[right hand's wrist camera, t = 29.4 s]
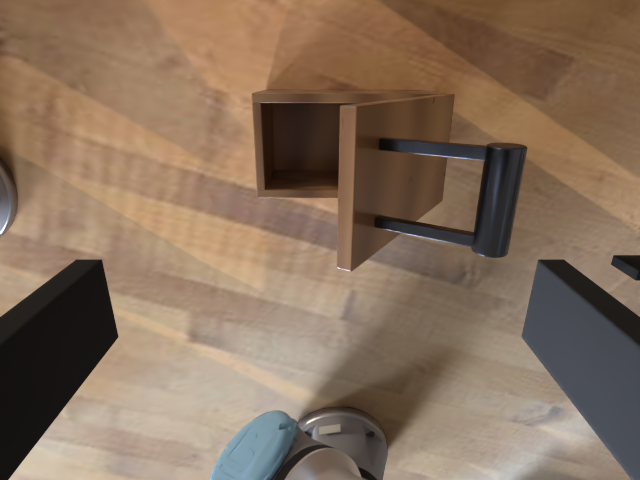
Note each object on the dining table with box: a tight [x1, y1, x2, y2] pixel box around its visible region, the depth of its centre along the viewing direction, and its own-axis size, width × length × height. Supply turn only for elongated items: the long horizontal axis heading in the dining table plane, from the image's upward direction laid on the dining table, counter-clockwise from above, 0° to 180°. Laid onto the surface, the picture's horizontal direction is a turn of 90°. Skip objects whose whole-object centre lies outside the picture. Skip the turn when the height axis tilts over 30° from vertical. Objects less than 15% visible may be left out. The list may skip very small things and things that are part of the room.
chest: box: [252, 90, 444, 198], centre depth 43 cm, size 18×10×10 cm, turn 90°
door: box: [337, 94, 527, 272], centre depth 29 cm, size 18×10×9 cm
